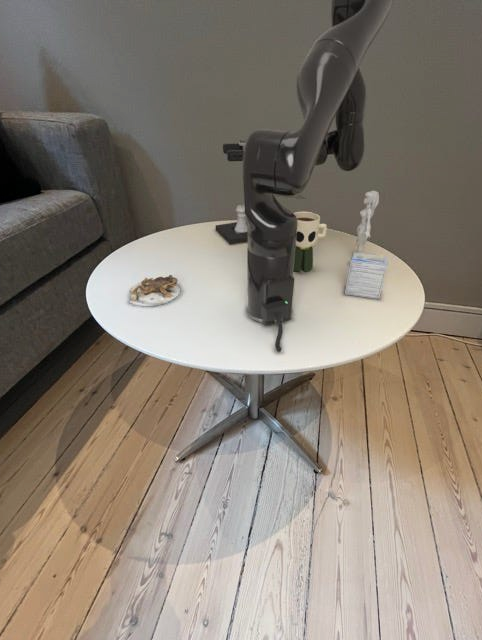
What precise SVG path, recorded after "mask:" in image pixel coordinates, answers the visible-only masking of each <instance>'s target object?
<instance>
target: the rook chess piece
mask: <svg viewBox="0 0 482 640" xmlns="http://www.w3.org/2000/svg"><path fill="white" fill-rule="evenodd" d="M235 211H236V217H237V218H236V219H237V220H236V222H237V225H236V227H235V232H236V233H243V232H248V231H247V224H246V217H245V204H242V205H241V204H239V205H237V206H236V208H235Z"/></svg>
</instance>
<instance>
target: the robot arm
mask: <svg viewBox="0 0 482 640" xmlns="http://www.w3.org/2000/svg"><path fill="white" fill-rule="evenodd" d="M393 4H394V0H331V6H330V7H331V13H330V14H331V27H330V28H328V30H326V31H324V32H323V33H322V34H321V35H320V36H319V37H318V38H317V39H315V41H314V43H312V45H311V47H310V49H309V50H308V52H307V55H306V56H305V58H304V60H303V62H302V63H301V66H300V68H299V70H298V72H297V76H296V82H295V83H296V84H295V85H296V87H295V88H296V97H297V101H298V104H299V108H300V111H301V114H302V119H303V122H302V125H301V126H300V127H299V129H296V130H295V131H290V130H282V129H273V128H256V129H254V130H252V131H251V132H250V133H249V135H248V136H247V139H246V140H239V141H238V142H234V143H227V142H226V143H223V144H222V152H223V154H225V155H226V159H227V161H228V162H242V180H243V198H244V206H245V217H246V221H247V231H248V232H247V242H246V243H247V246H246V252H247V254H246V266H247V267H246V301H247V302H246V303H247V304H246V314H247V316H248V317H249V318H250V319H251V320H253V321H254V322H256V323H257V322H258V323H261V324H263V326H270V325H274V324H277V335H276V338H275V343H274V344H275V345H274V347H275V349H276V351H277V352H278V353H279V352H281V351H282V347H281V340H282V337H283V331H284V329H283V327H284V326H283V322H286V321H290V320H292V312H293V301H294V291H295V290H294V288H295V277H294V259H295V248H296V237H297V226H298V221H297V218H296V216H295V215H294V214H293V213H294V212H292V211H290V210H289V209H287V208H286V207H285V206H283V205H282V204H281V203H280V201H278V200H277V198H276V197H275V195H276V196H282V197H283V196H284V197H297V196H299V195H300V194H302V192H303V191H304V190H305V188H306V187H307V185H308V183H309V181H310V179H311V177H312V174H313V172H314V170H315V167H319V166H323V165H324V164H325V163H326V162H327V159H328V156H334V159H335V162H336V164H337V166H338V168H339V169H340V170H341V171H343V172H352V171H355V170H356V169H358V167H359V166H360V164H361V163H362V161H363V158H364V155H365V125H364V123H365V116H366V109H367V100H368V88H367V82H366V79H365V76H364V73H363V71H362V69H361V64H362V61H363V59H364V57H365V55H366V54H367V51H368V50H369V48H370V47H371V45H372V44H373V42H374V40H375V39H376V38H377V36H378V34H379V32H380V31H381V30H382V28H383V26H384V24H385V22H386V20H387V18H388V16H389V15H390V14H389V13H390V12H391V9H392V6H393ZM334 119H335V120H334ZM333 121H335V127H336V129H334V130H330V128H331V125H332V124H333ZM329 130H330V131H329Z"/></svg>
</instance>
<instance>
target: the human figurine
mask: <svg viewBox="0 0 482 640" xmlns="http://www.w3.org/2000/svg"><path fill="white" fill-rule="evenodd" d="M379 202H380V195H379V191H376V190H371V191H367V192H365V197H364V198H363V205H365V208H364V209H362V210H361V211H360V212H359V215H360V217H361V218H360V224H358V226H357V228H356V242H355V245H357V248H356V253H364V248H363V245H364V246H365V245H366V243H367V241H368V240H369V238H371V230H372V226H371V218H372V217H373V216H374V213H375V211H376V208H377V206H378V205H379V204H380V203H379ZM350 263H351V261H350V262H349V264H350Z"/></svg>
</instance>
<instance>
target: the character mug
mask: <svg viewBox="0 0 482 640" xmlns="http://www.w3.org/2000/svg"><path fill="white" fill-rule="evenodd" d="M292 213H293V214H294V215H295V216H296V218H297V221H298V226H297V237H296V248H295V259H294V270H293V272H300V273H301V271H302V269H303V272H305V273H306V272H309V271H311V270H313V267H314V248H313V247H314V246H316V244H317V243H318V239H321V238H325V237H326V236H327V229H328V226H327V224H326V223H321V216H320V215H319V214H317V213H315V212H311V211H295V212H292ZM320 229H322V230H321V231H322V232H321V233H319V232H320Z"/></svg>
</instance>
